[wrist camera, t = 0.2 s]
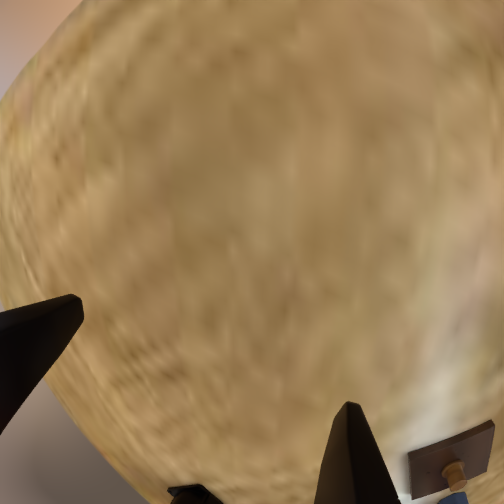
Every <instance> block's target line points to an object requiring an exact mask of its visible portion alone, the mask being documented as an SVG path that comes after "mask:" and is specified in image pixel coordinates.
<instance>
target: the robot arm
mask: <svg viewBox="0 0 504 504" xmlns="http://www.w3.org/2000/svg"><path fill="white" fill-rule="evenodd" d="M83 320H84V311H83V305H82V300H81V298H79V297H77V296H76V295H74V294H68V295H64V296H60V297H57V298H53V299H49V300H45V301H41V302H38V303H34V304H30V305H26V306H22V307H19V308H15V309H11V310H7V311H4V312H0V435H1V433H2V432H3V430H4V429H5V427H6V426H7V424H8V423H9V421H10V420H11V419H12V417H13V416H14V415H15V413H16V412H17V411H18V409H19V408H20V406H21V405H22V403H23V402H24V401H25V400H26V398H27V397H28V396H29V394H30V393H31V392H32V390H33V389H34V388H35V387H36V385H37V384H38V383H39V381H40V380H41V379H42V378H43V376H44V375H45V374H46V373H47V371H48V370H49V369H50V368H51V366H52V365H53V364H54V363H55V361H56V360H57V359H58V358H59V356H60V355H61V354H62V352H63V351H64V349H65V348H66V346H67V345H68V343H69V342H70V340H71V339H72V337H73V336H74V334H75V333H76V331H77V330H78V329H79V327H80V326H81V324H82V323H83ZM167 491H168V492H169V493H170V494H171V495H172V496H173V497H174V498H173V500H172V502H171V503H170V504H223V503H222V502H221V501H219V500H218V499H217V498H216V497H215V496H214V495H212V494H211V493H210V492H209V491H208V490H207V489H206V488H204V487H203V486H202V485H200V484H196V485H189V486H181V487H172V488H168V490H167ZM314 504H401V502H400V500H399V499H398V495H397V492H396V490H395V487H394V485H393V482H392V480H391V477H390V475H389V472H388V470H387V467H386V465H385V462H384V460H383V458H382V455H381V453H380V450H379V448H378V446H377V443H376V441H375V438H374V436H373V434H372V431H371V429H370V427H369V424H368V422H367V420H366V417H365V415H364V413H363V410H362V408H361V406H360V405H359V404H358V403H354V402H350V401H347V402H345V404H344V405H343V406H342V408H341V409H340V410H339V412H338V413H337V415H336V416H335V418H334V421H333V424H332V428H331V431H330V435H329V439H328V443H327V446H326V450H325V453H324V457H323V460H322V464H321V469H320V474H319V480H318V485H317V491H316V496H315V501H314Z"/></svg>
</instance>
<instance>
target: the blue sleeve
mask: <svg viewBox="0 0 504 504" xmlns="http://www.w3.org/2000/svg"><path fill="white" fill-rule="evenodd" d="M438 504H469V503H468V500H467V497H466V494H465V492H462V493H454V494H452V495H450V496H448V497H446V498H444V499H442V500H441V501H440V502H439V503H438Z"/></svg>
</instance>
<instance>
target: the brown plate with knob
mask: <svg viewBox="0 0 504 504" xmlns="http://www.w3.org/2000/svg"><path fill="white" fill-rule="evenodd" d="M494 430H495V425H494V423H493V421H492V420H490V421H488V422H485V423H483V424H481V425H479V426H477V427H475V428H473V429H470V430H468V431H466V432H463V433H461V434H459V435H456V436H454V437H451V438H449V439H446V440H444V441H441V442H439V443H436V444H433V445H430V446H427V447H425V448H422V449H419V450H416V451H413V452H409V453H408V458H409V472H410V490H411V499H412V500H414V499H418V498H421V497H424V496H427V495H430V494H433V493H436V492H439V491H441V490H444V489H447V488H450V490H451V491H457V490H459V489H461V488H463V487H464V486H465V485H466V483H467V480H469V479H471V478H474V477H476V476H478V475H480V474H482V473H484V472H486V471H487V466H488V462H489V457H490V453H491V448H492V442H493V436H494Z"/></svg>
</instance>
